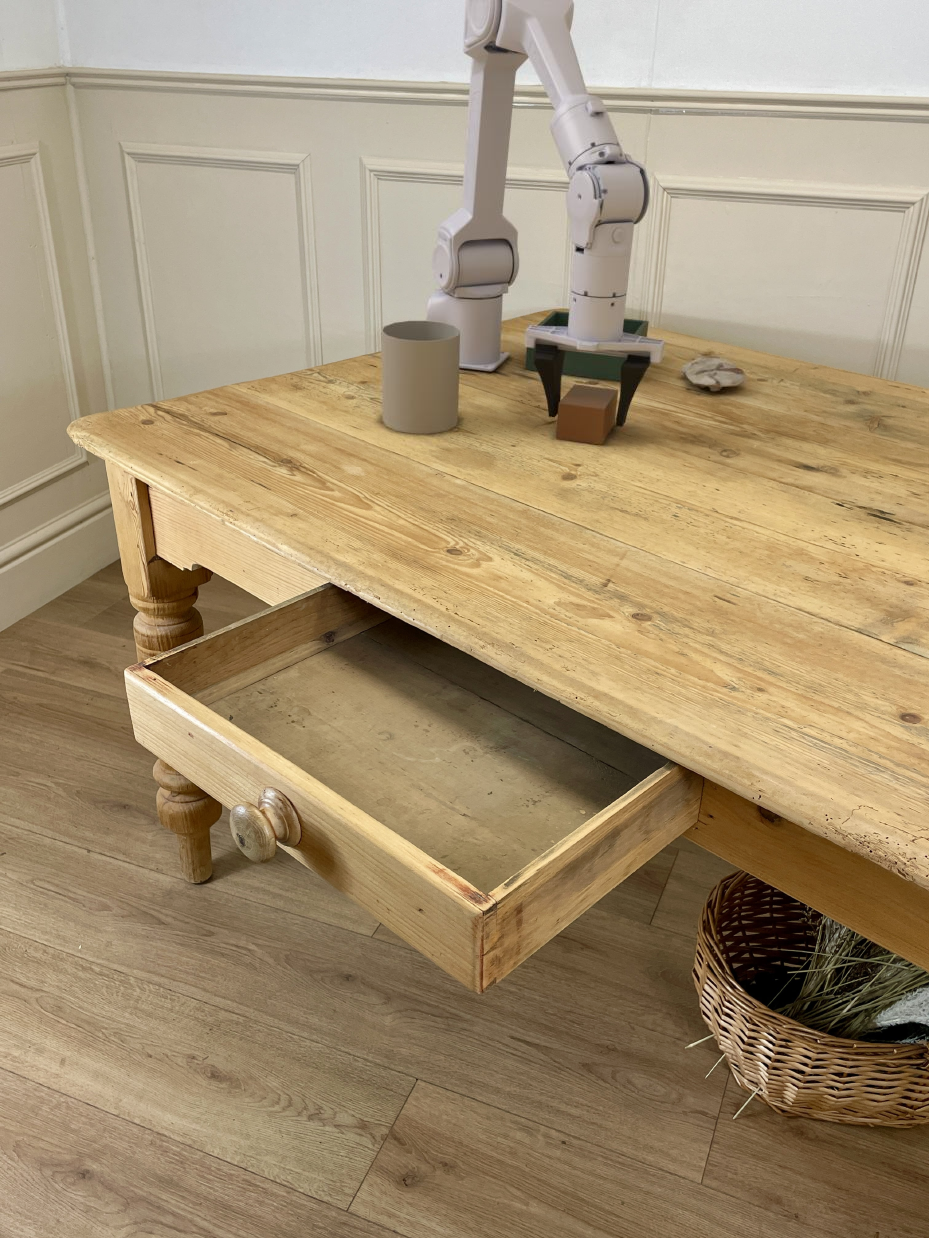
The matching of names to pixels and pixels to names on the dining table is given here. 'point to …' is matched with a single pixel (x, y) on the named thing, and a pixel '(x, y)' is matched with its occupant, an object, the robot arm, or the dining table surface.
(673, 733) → the dining table surface
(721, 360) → the stone
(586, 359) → the bin
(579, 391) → the block
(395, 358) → the cup
